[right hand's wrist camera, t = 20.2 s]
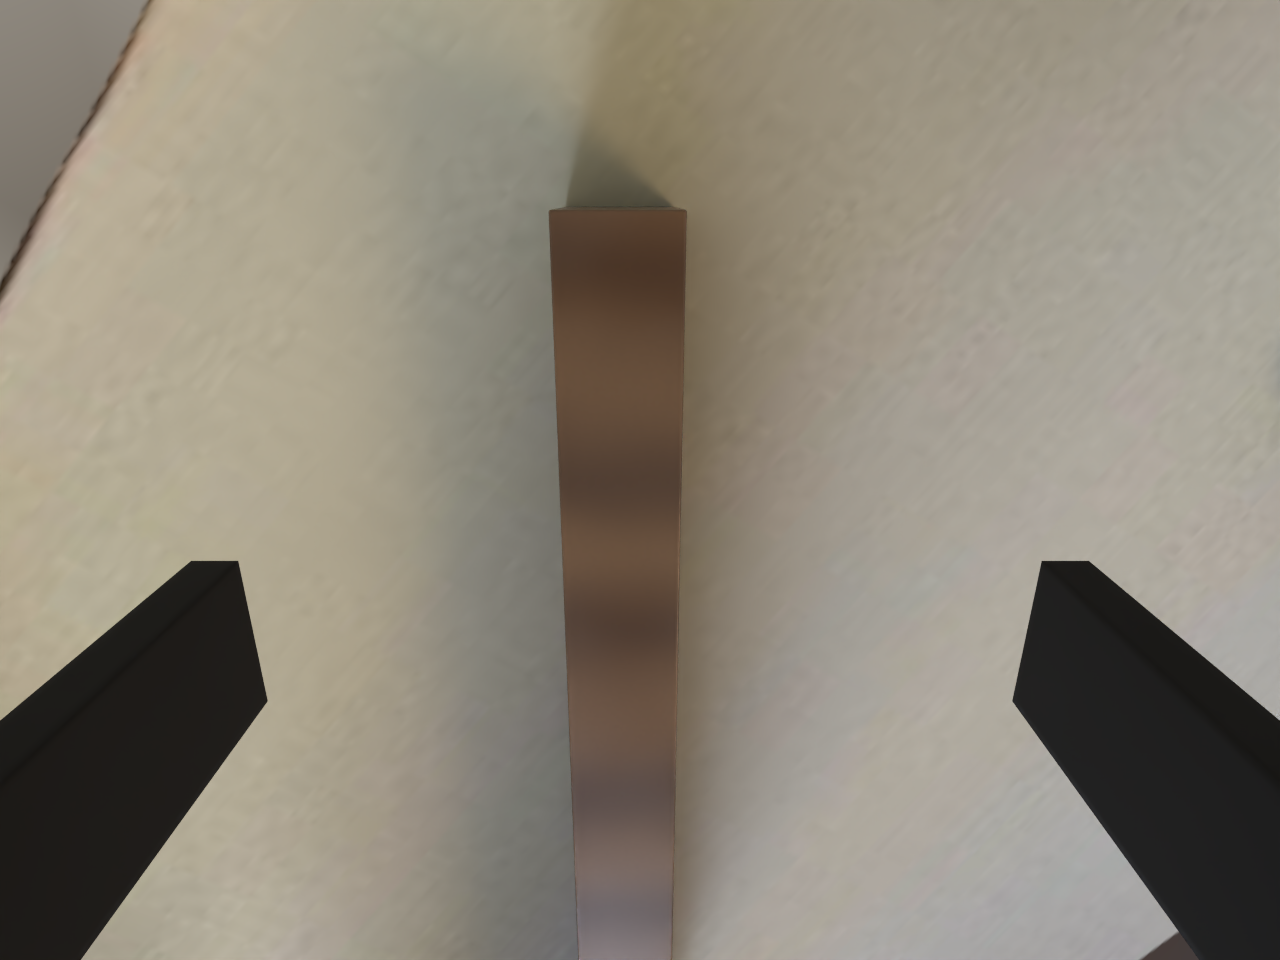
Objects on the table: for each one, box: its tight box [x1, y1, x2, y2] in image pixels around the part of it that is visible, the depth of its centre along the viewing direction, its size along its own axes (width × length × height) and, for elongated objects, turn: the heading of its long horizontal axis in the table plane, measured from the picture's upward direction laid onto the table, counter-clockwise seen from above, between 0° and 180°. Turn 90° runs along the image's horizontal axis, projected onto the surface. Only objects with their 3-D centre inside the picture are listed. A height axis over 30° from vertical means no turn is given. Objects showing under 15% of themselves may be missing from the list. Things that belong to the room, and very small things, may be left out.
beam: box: [549, 207, 687, 960], centre depth 40 cm, size 53×5×7 cm, turn 0°
